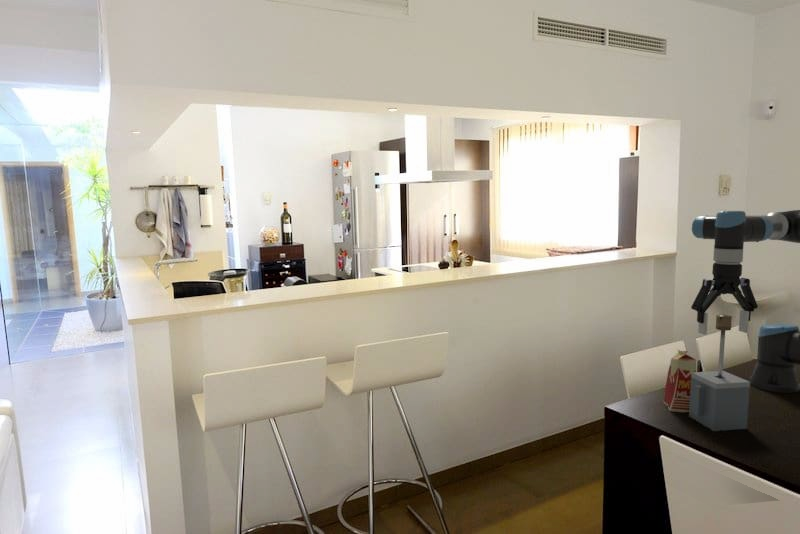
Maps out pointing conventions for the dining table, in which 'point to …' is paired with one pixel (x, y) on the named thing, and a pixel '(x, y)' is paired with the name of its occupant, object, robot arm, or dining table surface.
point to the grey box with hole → (719, 400)
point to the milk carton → (679, 382)
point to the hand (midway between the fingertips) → (722, 332)
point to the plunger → (722, 338)
